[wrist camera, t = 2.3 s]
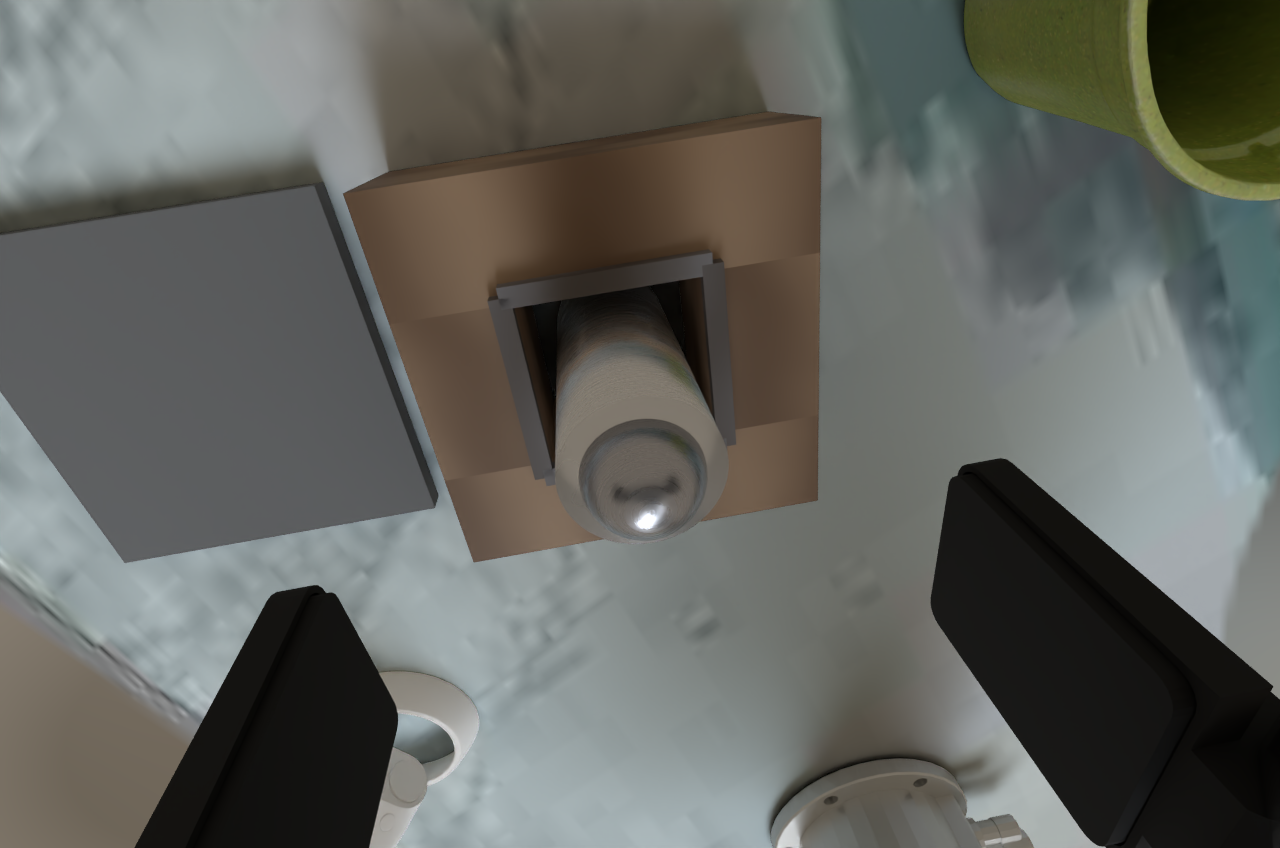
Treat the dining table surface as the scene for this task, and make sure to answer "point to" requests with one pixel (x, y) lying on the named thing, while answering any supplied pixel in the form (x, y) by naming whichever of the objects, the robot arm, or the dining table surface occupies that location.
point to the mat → (207, 373)
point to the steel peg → (631, 422)
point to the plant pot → (1148, 78)
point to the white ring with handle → (405, 770)
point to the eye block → (594, 264)
